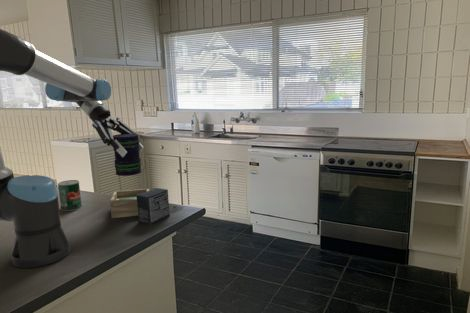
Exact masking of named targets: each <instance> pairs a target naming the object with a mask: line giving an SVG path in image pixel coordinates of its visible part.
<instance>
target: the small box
mask: <svg viewBox="0 0 470 313" xmlns="http://www.w3.org/2000/svg"><path fill="white" fill-rule="evenodd" d="M136 197H137V207H138V216H137V217H138V223H142V224H146V225H150V226H151V225H153V224H155V223H157V222H159V221H161V220H164V219H166V218H168V217H170V214H171V213H170V204H169V203H170V202H169V201H170V200H169V190H168V188H167V189H165V188H159V187H155V188H152V189H149V191H147V192H144V193H141V194H138V195H136Z"/></svg>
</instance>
